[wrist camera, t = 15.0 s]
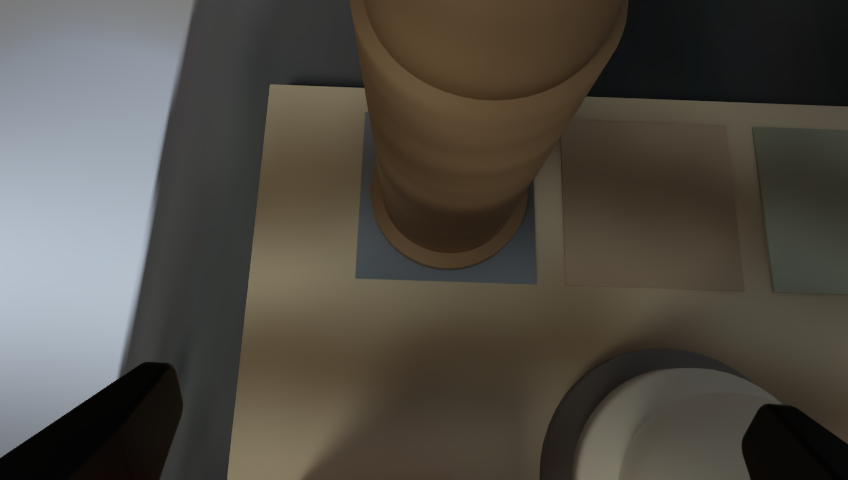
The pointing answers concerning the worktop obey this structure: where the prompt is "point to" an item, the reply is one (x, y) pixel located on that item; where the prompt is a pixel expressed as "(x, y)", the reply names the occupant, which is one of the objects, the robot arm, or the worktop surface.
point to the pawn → (471, 111)
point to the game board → (537, 289)
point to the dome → (670, 428)
